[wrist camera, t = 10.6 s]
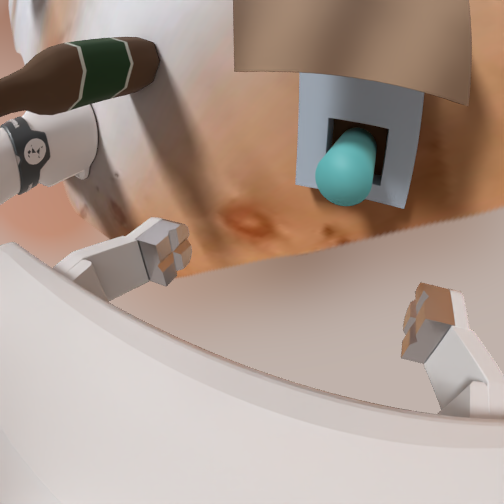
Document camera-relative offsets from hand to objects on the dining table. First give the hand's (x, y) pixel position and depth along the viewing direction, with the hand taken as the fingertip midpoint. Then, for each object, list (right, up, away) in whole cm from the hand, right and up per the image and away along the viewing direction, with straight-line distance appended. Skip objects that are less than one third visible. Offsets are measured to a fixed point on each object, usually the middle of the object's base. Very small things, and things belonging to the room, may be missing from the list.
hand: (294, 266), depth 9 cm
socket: (+8, +13, +11) cm, 20 cm away
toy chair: (+8, +20, +7) cm, 23 cm away
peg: (+8, +10, +14) cm, 19 cm away
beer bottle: (-15, +24, +18) cm, 33 cm away
